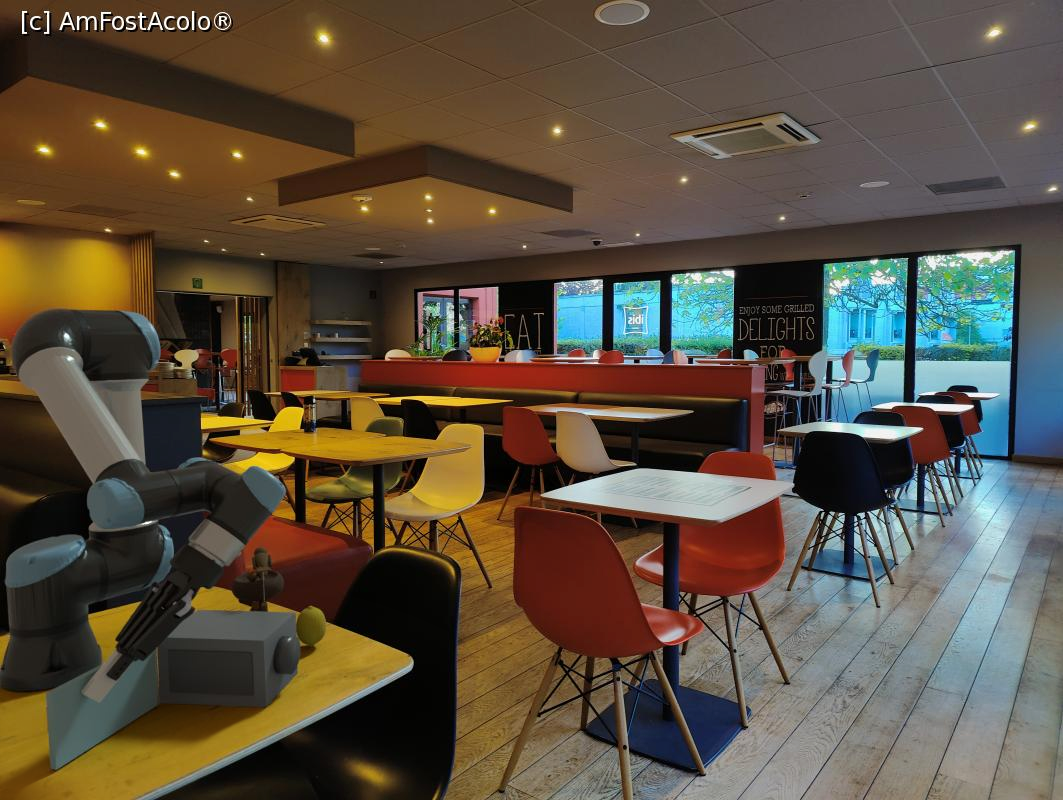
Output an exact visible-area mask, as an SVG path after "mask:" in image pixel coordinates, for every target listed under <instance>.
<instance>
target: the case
mask: <svg viewBox="0 0 1063 800" xmlns="http://www.w3.org/2000/svg"><path fill="white" fill-rule="evenodd" d="M296 622H297V612H292V611H290V612H289V611H287V612H286V611H268V612H262V611H250V610H225V609H224V610H223V609H222V610H220V609H217V610H216V609H197V610H195V611H194V613H193V614H192V615H190V616H189V617H188V618H186V619H185V620H184V621H182V622H181V623H180V624H179V625H178V626H177V627H176V628H175V630H174V631H173V632H172V633H171V634H170V635H169V636H168V637H167V638H166V639H165V640H164V641H163V642H162V643H161V644H160V645H159V646H158V647H157V665H158V686H159V704H177V705H197V706H198V705H203V706H222V707H224V706H225V707H227V706H228V707H248V708H249V707H250V708H267V707H268V706H269V705H270V704H271V703H272V701H274V699H276V697H277V696H278V695H279V694H280V693H281V692H282V691H283V690H284V689H285V687H286V686H287V685H288V684H289V683H291V681H292V680H293V679H294V678H295V677H296V676H297V675H298V671H299V669H298V668H299V667H298V665H299V662H300V659H301V641H300V640H299V638H298V636H297V632H296ZM294 676H295V677H294ZM293 677H294V678H293ZM292 678H293V679H292ZM282 689H283V690H282Z"/></svg>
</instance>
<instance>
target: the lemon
mask: <svg viewBox="0 0 1063 800" xmlns="http://www.w3.org/2000/svg"><path fill="white" fill-rule="evenodd" d="M326 630H327V620H326V618H325V614H324V613H323V611H322V610H321V609H320V608H317V607H315V606H313V605H309V606H308V607H306V608H304V609H303V610H301V612H300V613H299V614H298V615H297V617H296V636H297V637H298V639H299V641H300V643H302V644H305V645H308V646H309V647H310V648H312V646H313V647H314V646H315V645H316V644H318V643H319V642H321V641H322V640H323V638H324V637H325V635H326V632H327V631H326Z"/></svg>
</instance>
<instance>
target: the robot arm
mask: <svg viewBox="0 0 1063 800" xmlns="http://www.w3.org/2000/svg"><path fill="white" fill-rule="evenodd" d="M160 358H161V343H160V339H159V335H158V332H157V330H156V329H155V327H154V326H153V324H152V322H150V320H149V319H148V318H147V317H146V316H145V315H143V314H140V313H137V312H133V311H126V310H116V309H113V310H111V309H110V310H108V309H107V310H105V309H103V310H101V309H100V310H99V309H75V308H74V309H73V308H71V309H69V308H50V309H46V310H43V311H39V312H37V313H36V314H34V315H32V316H30V317H29V318H27V320H26V321H25V322H24V323H22V324H21V325H20V327H19V328H18V329H17V331H16V332H15V335H14V337H13V339H12V342H11V346H10V361H11V366H12V367H13V370H14V373H15V374H16V377H17V378H18V380H19V381H20V383H21V384H22V385H23V386H24V387H25V388H27V389H29V390H32V391H34V392H35V393H36V394H37V396H38V398H39V400H40V401H41V403H42V405H43V407H45V409H46V410H47V411H46V412H48V414H49V415H50V418H51V419H52V421H53V422H54V424H55V426H56V427H57V428H58V431H60V433H61V435H62V437H63V438H64V440H65V441H66V443H67V444H68V446H69V448H70V449H71V451H72V453H73V454H74V456H75V457H76V459H77V461H78V462H79V465H81V467H82V469H83V470H84V472H85V473H86V475H87V477H88V478H89V480H90V481H91V483H92V484H91V486H90V487H89V490H88V492H87V498H86V505H87V509H88V510H89V517H90V519H91V521H92V523H91V524H90V525H89V527H88V535H89V537H88V539H85V538H84V537H83V536H82V535H80V534H79V535H78V534H63V535H59V536H50V537H47V538H43V539H39V540H36V541H32V542H30V543H28V544H26V545H25V544H24V545H23V546H21V547H19V548H18V549H16V550H15V551H13V552H12V553H11V554H10V555H9V556H8V557H7V560H6V563H5V566H6V567H5V569H6V570H5V577H4V578H5V579H4V584H5V586H6V597H7V614H8V626H9V627H8V628H9V629H8V630H9V639H8V642H7V645H6V648H5V652H4V656H3V659H2V664H1V666H0V687H1V688H3V689H4V690H8V691H11V692H32V691H34V692H35V691H41V690H49V689H51V688H53V689H54V688H57V687H59V686H61V685H63V684H64V683H66V682H68V681H70V680H72V679H74V678H76V677H78V676H80V675H82V674H84V673H86V672H88V671H90V670H92V669H94V668H95V667H97V666H99V665H101V664H103V663H104V664H103V665H102V666H101V667H100V669H99V670H98V671H97V672H96V673H95V675H94V676H93V677H92V678H91V679H90V681H89V682H88V683H87V684H86V685H85V687H84V688H83V689H82V690H81V692H82V693H83V695H85V696H87V697H89V698H91V699H93V700H95V701H97V702H99V703H100V702H101V701H102V700H103V698H104V697H105V696H106V695H107V693H108V692H109V691H110V690H111V688H112V687H113V686H114V685H115V684H116V682H117V681H118V680H119V679H120V677H121V676H122V675H123V674H124V672H125V671H126V670H127V669H128V668H129V666H130V665H131V664H132V663H133V661H137V660H141V661H144V660H145V659H146V658H147V657H148V656H149V655H150V654H151V653H152V652H153V651H154V650H155V649H156V648H157V647H158V646H159V645H160V644H161V643H162V642H163V641H164V640H165V639H166V638H167V637H168V636H169V635H170V634H171V633H172V632H173V631H174V630H175V628H176V627H177V626H178V625H179V624H180V623H181V622H182V621H184V620H185V619H186V618H188V617H189V616H190V615H192V614H193V613H194V612H196V608H195V607H194V606H193V605H192V602H193V600H194V599H195V598H196V597H197V595H198V593H199V591H200V590H201V588H202V587H203V588H204V589H205V590H211V589H213V587H214V586H215V585H216V584H217V582H218V581H219V580H220V579H221V578H222V576H223V575H224V574H225V569H224V567H225V566H226V567H229V566H231V564H232V563H233V562H234V561H235V559H236V558H238V557H240V556H241V555H242V551H243V550H244V549H245V547H246V546H247V545H248V543H249V542H250V541H251V539H253V537H254V536H255V535H256V534H257V532H258V531H259V530H260V528H261V527H262V526H263V525H264V524H265V522H266V521H267V520H268V519H269V517H271V515H272V514H273V513H275V511H276V509H277V507H278V506H279V505H280V503H281V502H282V500H283V499H284V497H285V496H286V494H287V490H286V487H285V485H284V484H283V483H282V482H281V480H280V479H278V478H277V477H276V476H274V475H273V474H271V472H269V471H268V470H266V469H265V468H263V467H260V466H258V465H251V466H249V467H248V468H247V469H246V470H245V471H243V472H242V474H239V473H238V472H235V471H234V470H232V469H230V468H227V467H226V466H224V465H222V464H221V463H218V462H216V461H213V460H211V459H206V458H204V457H191V458H189V459H187V460H186V461H184V462H183V463H181V464H179V465H178V467H177V468H174V469H168V470H161V471H153V472H151V471H150V470H149V468H148V467H147V466H146V465H147V464H146V455H145V450H146V449H145V436H144V423H143V410H142V408H143V407H142V393H141V389H142V388H143V387H144V386H145V385H146V384H147V382H149V372H151V371H153V370H155V368H156V367H157V366H158V365H159V360H160ZM204 511H206V512H208V513H209V514H208V515H207V516H206V517H205V518H204V519H203V520H202V522H201V523H200V524H199V525H198V526H197V527H196V529H195V530H194V531H193V532H192V533H191V535H190V536H189V537H188V542H189V543H188V544H186V543H185V544H183V545H182V546H181V547H180V548H179V549H178V551H177V552H176V553H175V552H174V551H175V550H174V542H173V538H172V537H171V532H170V531H169V530H168V528H167V527H166V526H164V525H161V524H159V521H160V520H164V519H167V518H168V519H169V518H174V517H179V516H182V515H188V514H192V513H193V514H194V513H197V512H204ZM174 553H175V554H174ZM172 567H173V568H174V571H172V572H171V573H170V570H171V568H172ZM169 573H170V574H169ZM168 574H169V575H168ZM160 582H161V583H160ZM146 588H148V590H147V592H146V594H145V596H144V597H143V599H141V600H140V603H139V604H138V605H137V607H136V608H135V610H134V611H133V612H132V614H131V615H130V617H129V618H128V620H127V621H126V623H125V624H124V625H123V627H122V628H121V630H119V633H118V634H117V635H116V636H115V639H114V641H115V642H117V643H116V645H115V649H114V651H113V652H112V653H111V654H110V655H109V657H107V658H106V660H105V661H104V662H103V651H102V648H101V646H100V644H99V643H98V640H97V638H96V636H95V633H94V631H93V629H92V626H91V625H90V621H89V620H90V619H89V618H90V617H89V606H90V605H92V604H95V603H97V602H98V603H99V602H102V601H105V600H108V599H112V598H116V597H119V596H122V595H125V594H129V593H133V592H140V591H142V590H145V589H146Z"/></svg>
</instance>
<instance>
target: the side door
mask: <svg viewBox="0 0 1063 800" xmlns="http://www.w3.org/2000/svg"><path fill="white" fill-rule="evenodd" d="M104 663H105V662H102V664H101V665H99V666H97V667H95V668H94V669H92V670H90V671H88V672H86V673H84V674H82V675H80V676H78V677H76V678H74V679H72V680H70V681H68V682H66V683H64V684H63V685H61V686H57V687H54V688H53V689H51V690H49V691H47V692H46V693H45V695H46V696H45V697H46V698H45V699H46V707H45V710H46V726H47V727H46V728H47V734H48V746H49V747H48V748H49V751H48V753H49V765H50V768H49V769H51V770H55V771H57V770H59V769H60V768H61V767H63V766H65V765H66V764H68V763H70V762H71V761H73V760H74V759H77V758H78V757H79V756H80V755H82V754H84V753H85V752H86V751H89V750H90V749H91V748H93V747H95V746H96V745H97V744H99V743H101V742H102V741H104V740H106V739H107V738H108V737H110V736H112V735H113V734H115V733H117V731H120V730H121V729H122V728H124V727H126V726H127V725H129V724H131V723H132V722H133V721H135V720H137V719H138V718H140V717H142V716H143V715H145V714H146V713H148V712H149V711H150V710H152V709H154V708H155V707H157V706H158V705H160V698H159V677H158V656H157V648H156V649H155V650H154V651H153V652H152V653H151V654H150V655H149V656H148V657H147V658H146V659H145V660H144V661H141V660H137V661H133V663H132V664H131V665H130V666H129V668H128V669H127V670H126V671H125V672H124V674H123V675H122V676H121V677H120V679H119V680H118V681H117V682H116V684H115V685H114V686H113V687H112V688H111V690H110V691H109V692H108V693H107V695H106V696H105V697H104V698H103V700H102V701H101V702H100V703H99V702H97V701H95V700H93V699H91V698H89V697H87V696H85V695H83V693H82V692H81V690H82V689H83V688H84V687H85V685H86V684H87V683H88V682H89V681H90V679H91V678H92V677H93V676H94V675H95V673H96V672H97V671H98V670H99V669H100V667H101V666H102V665H103V664H104Z"/></svg>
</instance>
